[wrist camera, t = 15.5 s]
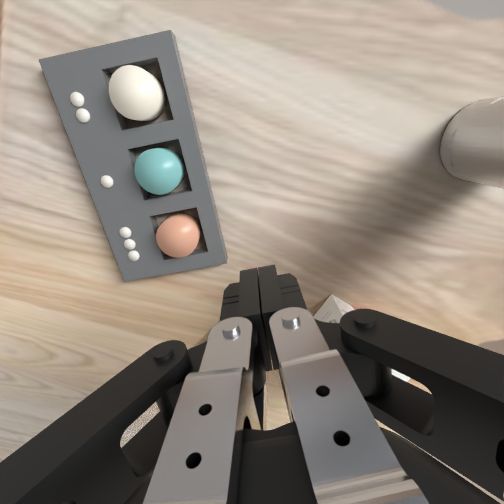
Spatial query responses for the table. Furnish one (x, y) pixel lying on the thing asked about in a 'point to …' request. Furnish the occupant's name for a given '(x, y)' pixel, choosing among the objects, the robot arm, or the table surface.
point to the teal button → (159, 170)
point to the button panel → (133, 152)
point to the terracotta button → (178, 235)
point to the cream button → (136, 93)
